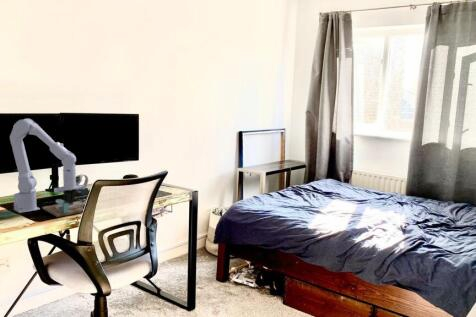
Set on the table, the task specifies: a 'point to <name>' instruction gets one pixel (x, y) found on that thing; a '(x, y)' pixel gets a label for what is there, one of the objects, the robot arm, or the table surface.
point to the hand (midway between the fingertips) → (70, 204)
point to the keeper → (63, 205)
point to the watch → (79, 179)
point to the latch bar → (73, 205)
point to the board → (53, 211)
